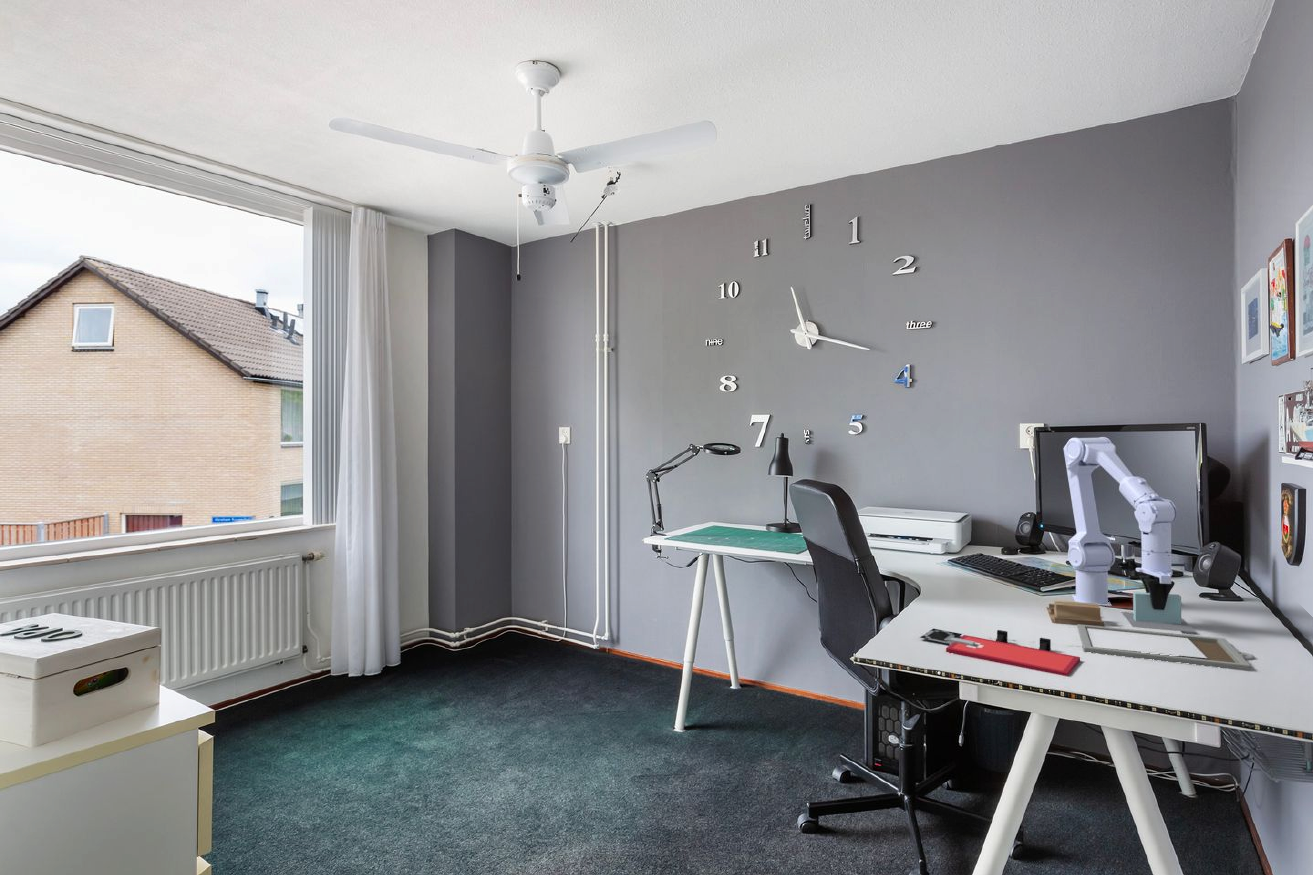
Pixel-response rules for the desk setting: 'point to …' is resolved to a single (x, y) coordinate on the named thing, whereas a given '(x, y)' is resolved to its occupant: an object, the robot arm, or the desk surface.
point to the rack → (1072, 619)
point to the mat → (1160, 625)
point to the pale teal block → (1148, 614)
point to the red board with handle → (1006, 651)
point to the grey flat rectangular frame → (1211, 647)
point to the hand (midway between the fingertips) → (1156, 607)
